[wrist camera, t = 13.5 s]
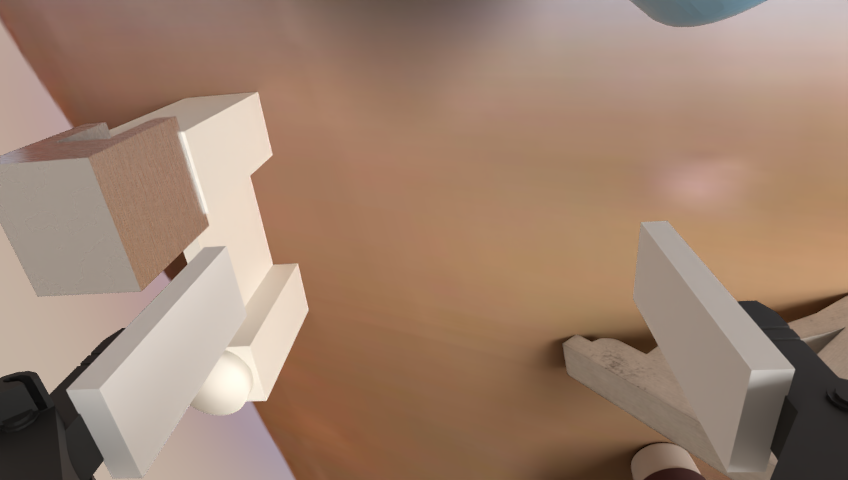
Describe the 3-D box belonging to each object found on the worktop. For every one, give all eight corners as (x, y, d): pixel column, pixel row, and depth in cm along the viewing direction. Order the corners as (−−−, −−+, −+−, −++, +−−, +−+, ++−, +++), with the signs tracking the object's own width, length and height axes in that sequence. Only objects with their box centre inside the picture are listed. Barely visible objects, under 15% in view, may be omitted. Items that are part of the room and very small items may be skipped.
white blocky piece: (185, 98, 48) (45, 157, 32) (257, 91, 47) (152, 148, 31) (248, 312, 58) (167, 438, 42) (308, 309, 58) (249, 436, 41)
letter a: (727, 260, 69) (567, 374, 58) (727, 231, 67) (562, 343, 56) (948, 323, 51) (778, 508, 40) (956, 287, 49) (781, 470, 38)
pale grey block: (85, 123, 35) (-29, 166, 27) (175, 116, 34) (87, 157, 26) (126, 230, 38) (37, 296, 30) (209, 225, 38) (141, 291, 30)
